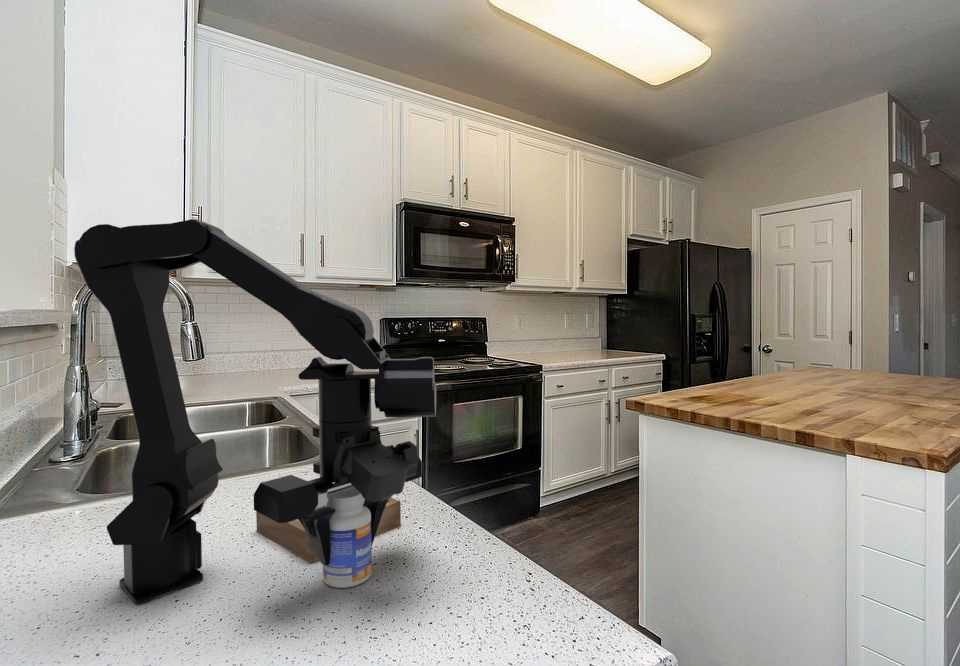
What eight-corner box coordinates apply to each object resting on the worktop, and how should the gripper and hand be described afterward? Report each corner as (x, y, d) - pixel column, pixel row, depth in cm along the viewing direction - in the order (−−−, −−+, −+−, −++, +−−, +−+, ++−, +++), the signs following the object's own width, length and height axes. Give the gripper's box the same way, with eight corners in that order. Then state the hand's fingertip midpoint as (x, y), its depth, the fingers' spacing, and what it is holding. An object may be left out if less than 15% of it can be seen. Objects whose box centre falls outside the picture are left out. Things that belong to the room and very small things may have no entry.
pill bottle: (365, 589, 53) (364, 500, 52) (315, 589, 53) (314, 500, 52) (376, 564, 58) (376, 483, 58) (332, 564, 58) (330, 483, 58)
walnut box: (311, 563, 58) (310, 534, 58) (256, 531, 67) (256, 506, 67) (400, 525, 69) (400, 500, 69) (343, 502, 78) (342, 480, 78)
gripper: (308, 446, 43) (311, 621, 43) (454, 414, 57) (455, 546, 57) (249, 428, 50) (252, 579, 50) (392, 404, 64) (393, 521, 64)
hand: (347, 554), depth 55 cm, fingers closed on pill bottle, 5 cm apart
